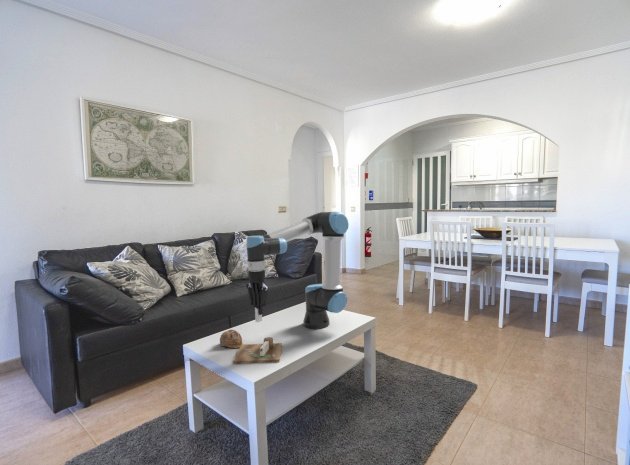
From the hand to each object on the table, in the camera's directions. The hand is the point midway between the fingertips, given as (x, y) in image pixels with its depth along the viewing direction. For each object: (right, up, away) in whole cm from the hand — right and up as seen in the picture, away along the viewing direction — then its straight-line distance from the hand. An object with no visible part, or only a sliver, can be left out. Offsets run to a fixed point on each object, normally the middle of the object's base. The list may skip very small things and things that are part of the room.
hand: (258, 321), depth 150 cm
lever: (+3, -15, +2) cm, 15 cm away
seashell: (-16, -16, +14) cm, 27 cm away
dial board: (0, -16, +3) cm, 16 cm away
